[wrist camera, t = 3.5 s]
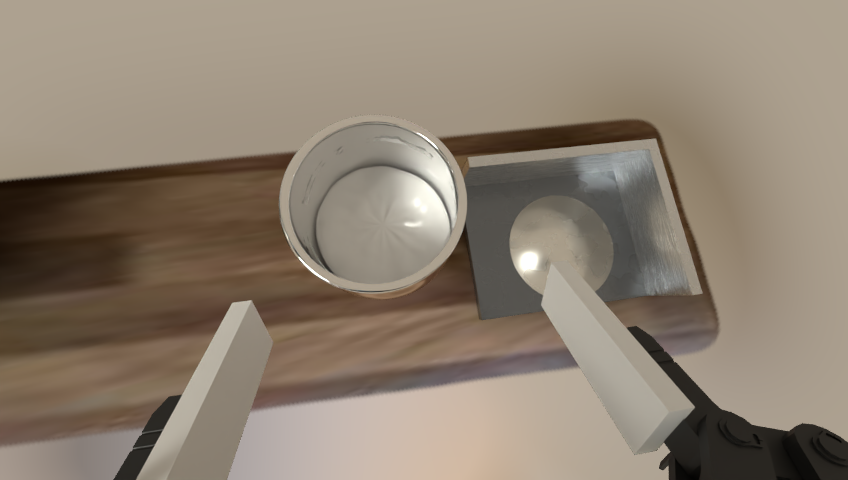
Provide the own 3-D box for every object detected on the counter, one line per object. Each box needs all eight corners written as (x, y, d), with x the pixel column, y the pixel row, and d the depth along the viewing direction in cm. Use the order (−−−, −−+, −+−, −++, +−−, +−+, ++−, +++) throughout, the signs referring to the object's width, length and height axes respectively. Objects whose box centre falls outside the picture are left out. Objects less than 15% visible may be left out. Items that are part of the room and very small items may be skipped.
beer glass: (403, 316, 24) (400, 343, 10) (333, 267, 25) (227, 222, 10) (449, 246, 26) (509, 175, 11) (382, 201, 26) (353, 75, 11)
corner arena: (479, 319, 25) (497, 324, 20) (456, 182, 27) (467, 157, 22) (648, 294, 26) (702, 293, 21) (613, 165, 28) (655, 138, 23)
